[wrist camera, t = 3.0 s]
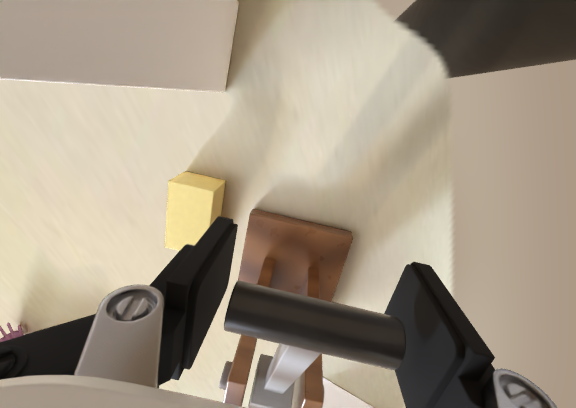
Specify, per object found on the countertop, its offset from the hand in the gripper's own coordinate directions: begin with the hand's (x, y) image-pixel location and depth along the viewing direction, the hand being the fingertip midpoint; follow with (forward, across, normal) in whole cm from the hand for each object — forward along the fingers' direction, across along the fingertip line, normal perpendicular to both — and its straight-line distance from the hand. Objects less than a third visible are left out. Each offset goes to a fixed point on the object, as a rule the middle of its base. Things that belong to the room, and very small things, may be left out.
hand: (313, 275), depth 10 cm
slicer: (+13, 0, +10) cm, 17 cm away
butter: (+13, +9, +5) cm, 17 cm away
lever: (+1, 0, +5) cm, 5 cm away
